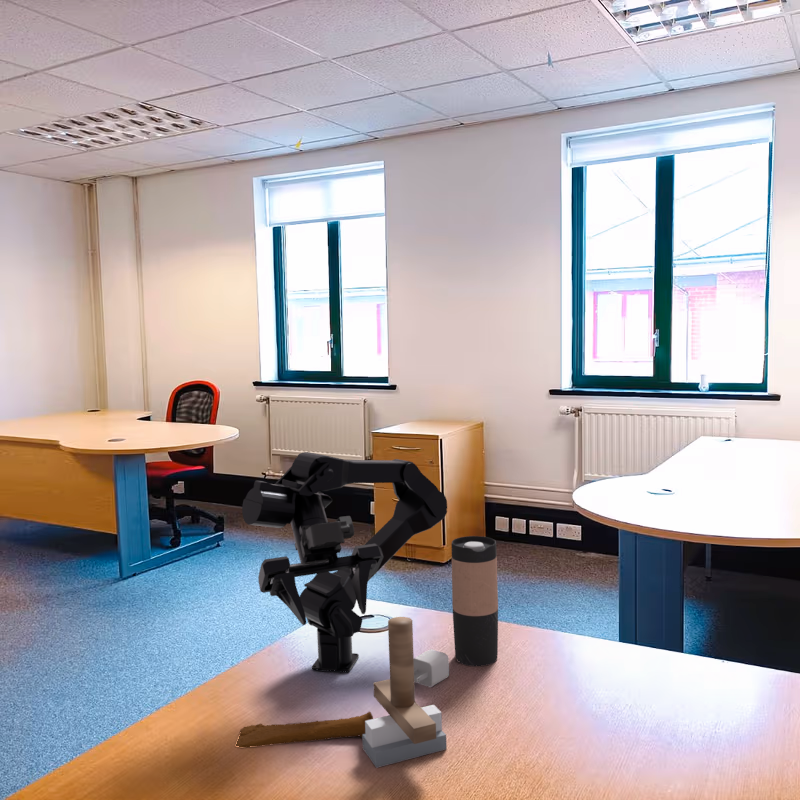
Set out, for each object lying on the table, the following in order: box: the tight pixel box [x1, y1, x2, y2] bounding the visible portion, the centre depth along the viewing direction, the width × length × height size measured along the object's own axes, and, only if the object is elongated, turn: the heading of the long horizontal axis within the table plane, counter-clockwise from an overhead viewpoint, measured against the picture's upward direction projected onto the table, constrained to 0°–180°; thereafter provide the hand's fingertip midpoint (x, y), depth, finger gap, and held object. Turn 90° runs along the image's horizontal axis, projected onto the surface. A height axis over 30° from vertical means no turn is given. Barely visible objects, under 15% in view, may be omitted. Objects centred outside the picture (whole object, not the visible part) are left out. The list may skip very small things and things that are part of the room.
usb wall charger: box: [414, 648, 450, 688], centre depth 122 cm, size 4×7×4 cm, turn 140°
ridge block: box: [361, 704, 448, 768], centre depth 103 cm, size 10×5×4 cm, turn 113°
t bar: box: [372, 616, 436, 744], centre depth 102 cm, size 14×3×13 cm, turn 23°
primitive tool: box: [235, 711, 374, 748], centre depth 108 cm, size 19×6×4 cm, turn 92°
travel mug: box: [450, 535, 499, 667], centre depth 130 cm, size 8×8×20 cm
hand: (334, 618), depth 114 cm, fingers open, 9 cm apart
